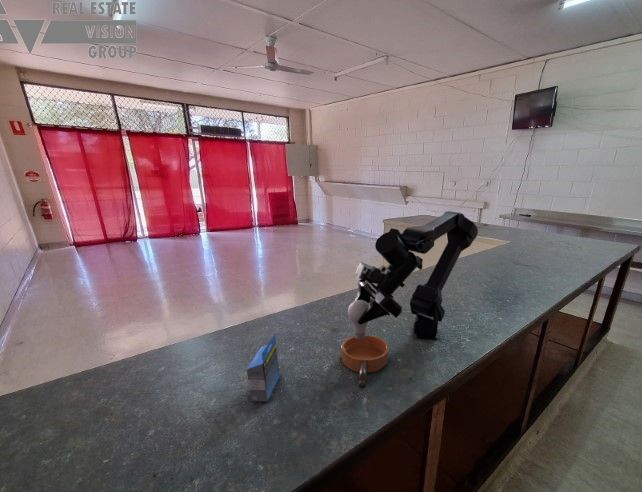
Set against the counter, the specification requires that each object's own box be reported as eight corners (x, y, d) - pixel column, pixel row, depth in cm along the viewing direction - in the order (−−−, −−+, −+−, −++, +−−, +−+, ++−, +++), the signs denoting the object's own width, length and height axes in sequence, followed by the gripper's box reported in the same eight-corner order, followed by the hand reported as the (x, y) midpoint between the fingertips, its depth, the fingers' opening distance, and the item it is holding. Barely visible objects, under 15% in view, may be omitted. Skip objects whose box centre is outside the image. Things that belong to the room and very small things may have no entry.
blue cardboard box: (264, 375, 76) (259, 330, 72) (280, 376, 76) (276, 331, 72) (250, 401, 68) (243, 352, 63) (268, 402, 68) (262, 353, 63)
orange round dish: (387, 348, 89) (388, 335, 88) (388, 374, 78) (389, 361, 76) (344, 346, 89) (344, 333, 88) (339, 372, 78) (339, 359, 77)
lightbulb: (374, 336, 84) (375, 298, 80) (366, 347, 79) (367, 307, 75) (353, 331, 86) (353, 294, 82) (344, 343, 80) (343, 303, 76)
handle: (367, 366, 77) (367, 359, 77) (366, 390, 69) (366, 383, 68) (360, 365, 77) (360, 359, 77) (357, 390, 69) (358, 383, 68)
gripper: (363, 242, 83) (323, 286, 84) (391, 262, 67) (341, 316, 67) (389, 268, 89) (352, 309, 89) (421, 292, 72) (375, 342, 73)
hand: (354, 317), depth 79 cm, fingers closed on lightbulb, 6 cm apart
